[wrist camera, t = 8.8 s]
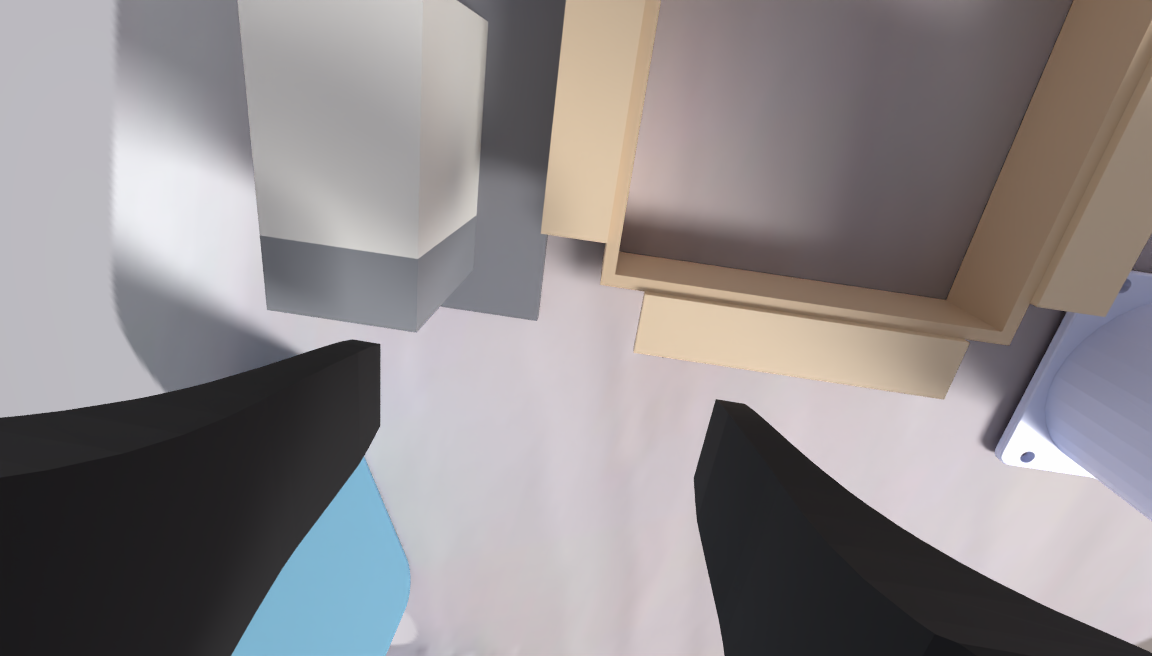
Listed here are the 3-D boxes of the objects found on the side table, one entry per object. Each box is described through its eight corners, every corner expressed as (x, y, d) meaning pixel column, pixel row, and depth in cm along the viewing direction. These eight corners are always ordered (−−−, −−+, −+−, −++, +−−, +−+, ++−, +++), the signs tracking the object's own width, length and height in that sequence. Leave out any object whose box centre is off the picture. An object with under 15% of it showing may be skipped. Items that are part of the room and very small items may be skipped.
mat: (576, -16, 16) (574, -18, 16) (538, 317, 21) (537, 320, 20) (286, -57, 16) (279, -60, 16) (308, 282, 21) (302, 285, 20)
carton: (1217, -118, 14) (1380, -179, 11) (984, 369, 20) (1050, 415, 17) (600, -201, 15) (596, -283, 12) (542, 302, 20) (529, 336, 17)
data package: (233, 382, 23) (-134, 643, 12) (329, 366, 22) (40, 625, 11) (335, 590, 27) (139, 925, 16) (419, 582, 26) (276, 924, 15)
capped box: (488, 21, 16) (423, -24, 11) (473, 269, 20) (416, 332, 14) (361, 3, 17) (232, -50, 11) (365, 253, 20) (267, 310, 14)
